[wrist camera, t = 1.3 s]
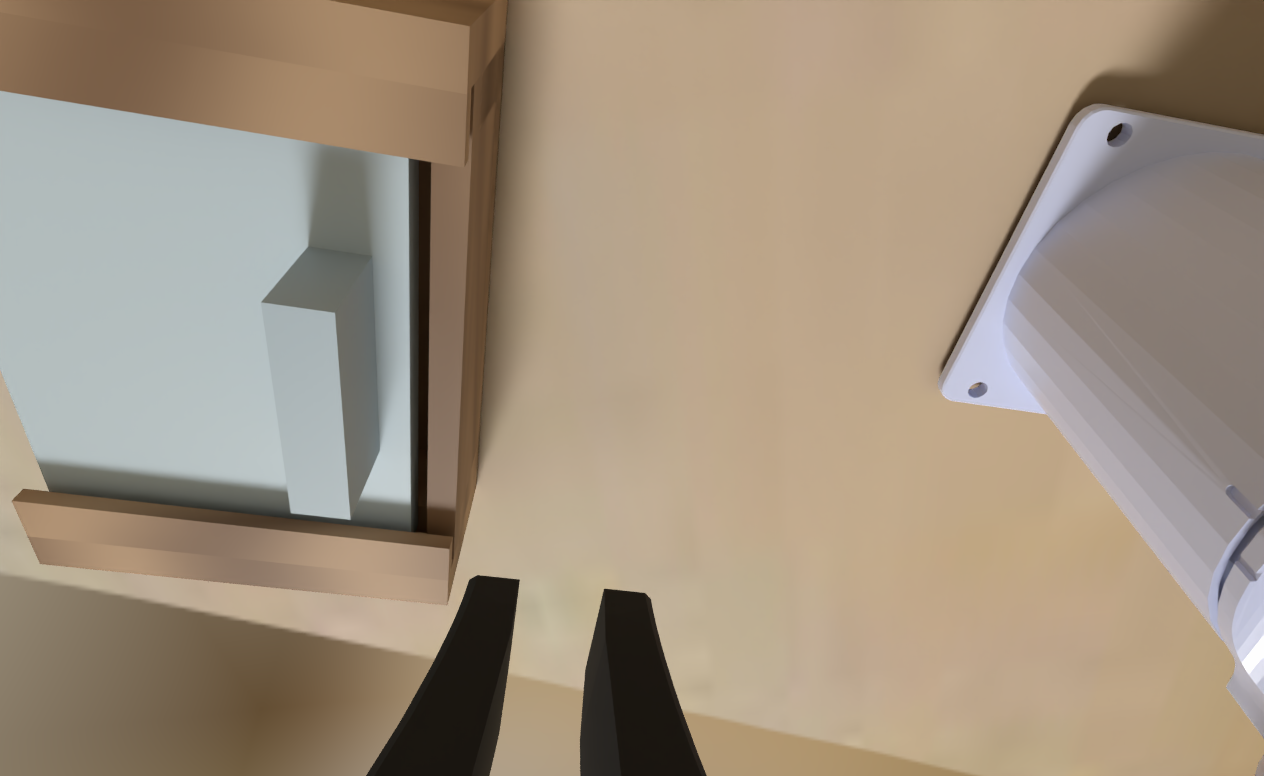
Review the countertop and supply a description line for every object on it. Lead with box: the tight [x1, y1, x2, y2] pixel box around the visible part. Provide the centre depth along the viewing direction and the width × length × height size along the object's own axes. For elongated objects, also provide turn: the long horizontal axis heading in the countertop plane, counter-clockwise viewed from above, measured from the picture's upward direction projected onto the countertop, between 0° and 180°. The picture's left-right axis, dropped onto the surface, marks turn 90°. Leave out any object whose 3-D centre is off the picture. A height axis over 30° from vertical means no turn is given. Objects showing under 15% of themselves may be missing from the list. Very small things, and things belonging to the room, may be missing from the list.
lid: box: [0, 91, 419, 533], centre depth 14 cm, size 9×11×3 cm
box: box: [0, 0, 508, 605], centre depth 16 cm, size 10×14×4 cm
